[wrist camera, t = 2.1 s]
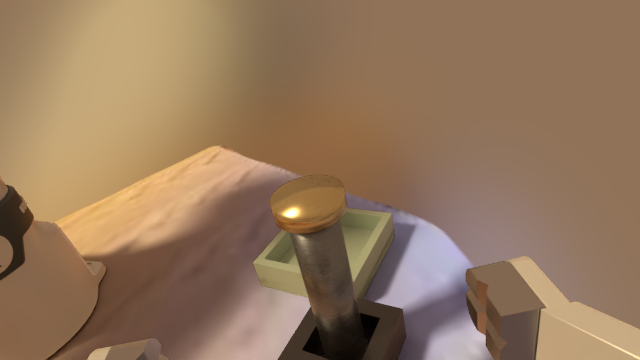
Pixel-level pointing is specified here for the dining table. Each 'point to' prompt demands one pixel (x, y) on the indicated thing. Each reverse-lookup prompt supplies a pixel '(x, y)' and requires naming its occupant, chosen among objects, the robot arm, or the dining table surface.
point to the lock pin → (323, 259)
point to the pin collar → (378, 327)
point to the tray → (361, 244)
